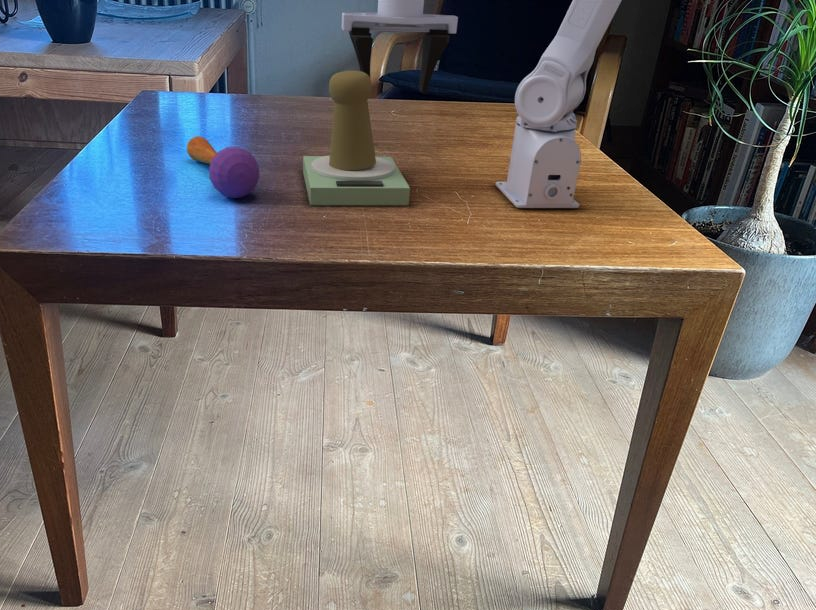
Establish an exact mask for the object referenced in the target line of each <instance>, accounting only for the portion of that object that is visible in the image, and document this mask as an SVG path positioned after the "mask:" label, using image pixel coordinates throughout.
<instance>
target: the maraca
mask: <svg viewBox="0 0 816 610" xmlns="http://www.w3.org/2000/svg"><path fill="white" fill-rule="evenodd" d="M186 152H187V155H188V156H189V158H191V159H192V160H194V161H196V162H199V163H204V164H208V165H209V167H208V172H209V173H208V175H209V180H210V182H211V185H212V186H213V188H214V189H215V190H217V192H219V193H220V194H221V195H222V196H224V197H227V198H230V199H241V198H244V197H246V196H247V195H249V194H251V193H252V192H253V191H254V190H255V188H256V187H257V185H258V182H259V179H260V166H259V164H258V161H257V159H256V157H255V156H254V155H252V153H251V152H249V151H248V150H247V149H244V148H241V147H239V146H227V147H225V148H223V149H221V150H219V151H216V149H215V148H214V146H212V145H211V143H210V142H209V141H208V139H206V138H205V137H203V136H193V137H192V138H191V139H190V140H189V141H188V142H187V145H186Z"/></svg>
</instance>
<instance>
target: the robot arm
mask: <svg viewBox="0 0 816 610" xmlns="http://www.w3.org/2000/svg"><path fill="white" fill-rule="evenodd" d="M377 1H378V2H377V12H342V13H341V31H343V32H348V35H349V38H350V41H351V43H352V47H353V49H354V52H355V55H356V59H357V62H358V67H359V71H361V72H364V73H366V74H367V75H368V76H369V77H370V78H371V61H372V51H373V45H374V44H373V42H374V38H373V37H372V33H371V32H405V33H406V32H409V33H423V34H422V35H421V38H422V41H421V42H422V46H421V47H422V51H421V52H422V53H421V66H420V72H419V73H420V74H419V80H418V81H419V83H418V91H419V92H420V93H421V94H428V91H429V87H430V83H431V80H432V77H433V74H434V72H435V69H436V66H437V65H438V63H439V61H440V58H441V56H442V55H443V53H444V51H445V49H446V48H447V47H448V45H449V42H450V35H449V34H455V35H456V34H457V29H458V23H459V22H458V20H459V16H456V15H451V14H450V15H445V14H431V13H430V14H428V13H424V6H425V0H377ZM622 1H623V0H572V1H571V3H570V5H569V7H568V9H567V11H566V14H565V16H564V18H563V20H562V22H561V24H560V26H559V28H558V30H557V33H556V35H555V36H554V38H553V39H552V40H551V42H550V43H549V45H548V47H546V49H545V50H544V52H543V53H542V55H541V56H540V59H539V61H538V63H537V65H536V67H535V68H534V69H533V70H532V71H531V72H530V73H528V74H527V75H526V76H525V77H524V78H523V79H522V80H521V81H520V83H519V84H518V86H517V88H516V91H515V95H514V107H515V110H516V113H517V114H518V116H516V119H515V124H514V125H515V126H514V132H513V139H512V144H511V151H510V158H509V165H508V171H507V177H506V181H496V182H495V186H496V188H498V190H499V191H500V192H501V193H502V194H503V195H504V196H505V197H506V198H507V200H508V201H510V202H511V203H512V205H513V206H514V207H515V208H517V209H579V208H580V203H579V202H578V201H577V200H575V199H574V197H575V194H576V188H577V184H578V177H579V173H580V168H581V163H582V151H581V148H580V146H579V145H578V143H577V141H576V137H575V136H576V131H577V125H578V120H577V117H576V115H575V113H574V110H575V109H577V107H579V105H580V104H581V103H582V102H583V100H584V97H585V95H586V91H587V77H588V74H589V72H590V69H591V68H592V66H593V63H594V60H595V56H596V52H597V49H598V47H599V45H600V43H601V42H602V40H603V37H604V35H605V34H606V31H607V29H608V28H609V26H610V24H611V22H612V20H613V19H614V16H615V14H616V12H617V10H618V9H619V6H620V5H621V3H622ZM387 24H388V25H387ZM389 25H405V26H389ZM406 25H412V26H406Z"/></svg>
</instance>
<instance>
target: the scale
mask: <svg viewBox="0 0 816 610" xmlns="http://www.w3.org/2000/svg"><path fill="white" fill-rule="evenodd" d="M375 157H376V164H375V165H374V166H371V167H369V168H366V169H361V170H340V169H335V168H333V167H331V166H330V165H329V160H330V154H328V155H303V156H302V158H303V159H302V173H303V174H302V175H303V177H304V178H303V179H304V183H305V187H306V192H307V197H308V202H309V206H409V205H410V197H411V196H410V195H411V194H410V193H411V187H410V185H409V184H408V182H407V180H406V179H405V177H404V175H403V174H402V172H401V170H400V169H399V167H398V166H397V164H396V162H395V160H394V159H393V158H392V156H375Z"/></svg>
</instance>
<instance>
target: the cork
mask: <svg viewBox="0 0 816 610" xmlns="http://www.w3.org/2000/svg"><path fill="white" fill-rule="evenodd" d="M371 79H372V78H371V76H370V77H369V76H368V75H367V74H366V73H364V72H361V71H360V70H343V71H339V72H336V73H334V74H333V75H332V76H331V77H330V79H329V84H328V93H329V96H330V98H331V99H332V101H333V112H332V123H331V124H332V125H331V137H330V147H329V148H330V149H329V155H330V160H329V165H330V166H331V167H333V168H335V169H340V170H361V169H366V168H369V167H371V166H374V165H375V164H376V157H377V156H376V152H375V143H374V138H373V137H374V136H373V130H372V123H371V117H370V109H369V102H368V100H369V99H370V97H371V95H372V90H373V89H372V88H373V86H372V84H373V83H372V80H371Z"/></svg>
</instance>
